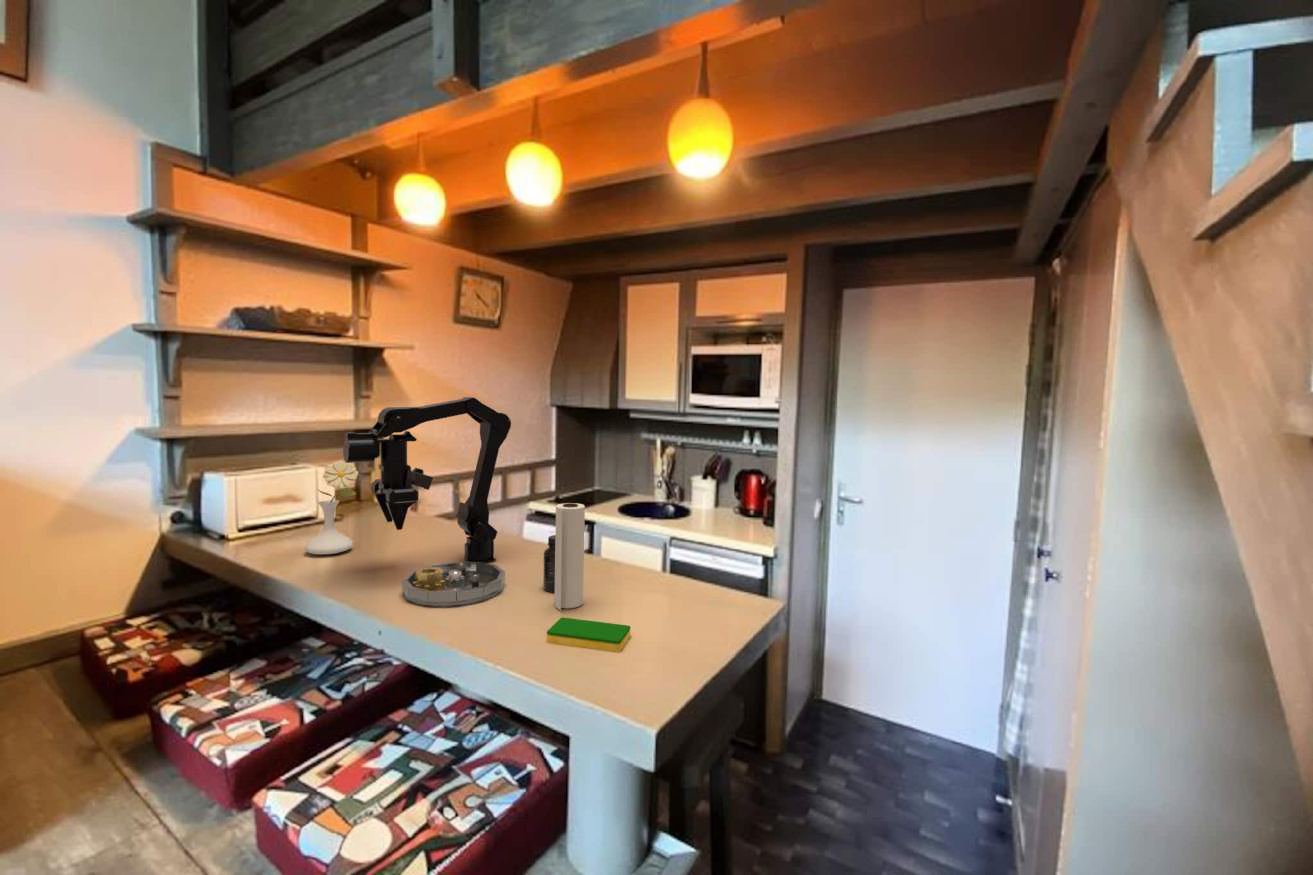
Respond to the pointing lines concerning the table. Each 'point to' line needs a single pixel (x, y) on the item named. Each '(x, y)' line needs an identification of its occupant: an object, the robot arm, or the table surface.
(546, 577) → the supplement bottle
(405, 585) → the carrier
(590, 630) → the dish sponge
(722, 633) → the table surface
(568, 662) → the table surface
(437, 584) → the planet gear
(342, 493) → the flower in vase
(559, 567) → the paper towel roll
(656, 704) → the table surface
